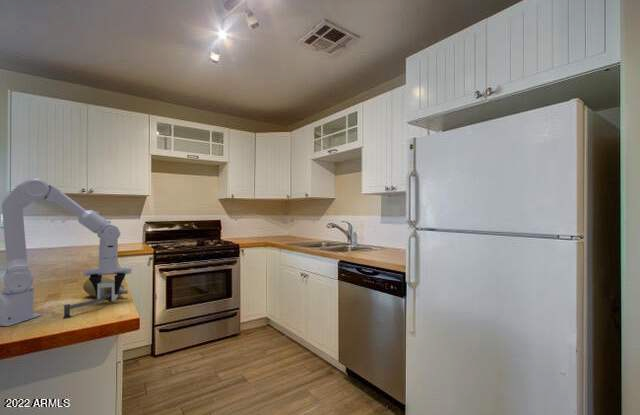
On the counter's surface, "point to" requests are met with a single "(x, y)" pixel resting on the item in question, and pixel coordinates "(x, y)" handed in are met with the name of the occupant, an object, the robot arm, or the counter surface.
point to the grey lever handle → (68, 306)
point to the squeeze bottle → (90, 289)
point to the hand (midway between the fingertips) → (107, 294)
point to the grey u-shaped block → (106, 284)
